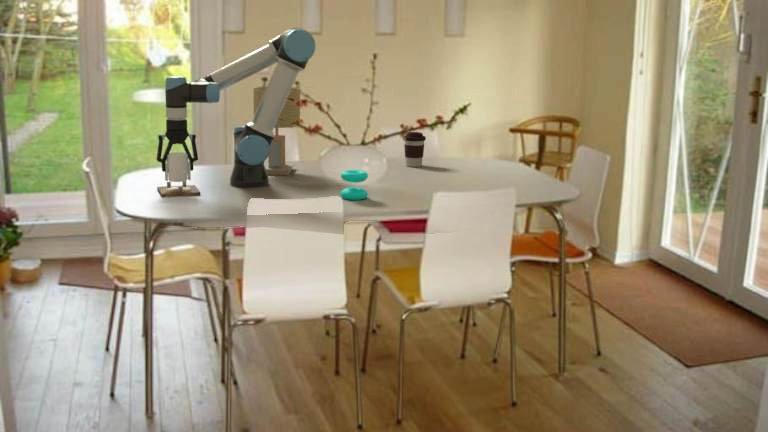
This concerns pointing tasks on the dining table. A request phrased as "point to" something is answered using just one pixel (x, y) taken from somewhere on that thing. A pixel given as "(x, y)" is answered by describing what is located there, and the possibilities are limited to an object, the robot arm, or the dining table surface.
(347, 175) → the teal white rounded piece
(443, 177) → the dining table surface
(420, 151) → the coffee cup
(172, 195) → the pin board
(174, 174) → the white cup
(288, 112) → the desk lamp
